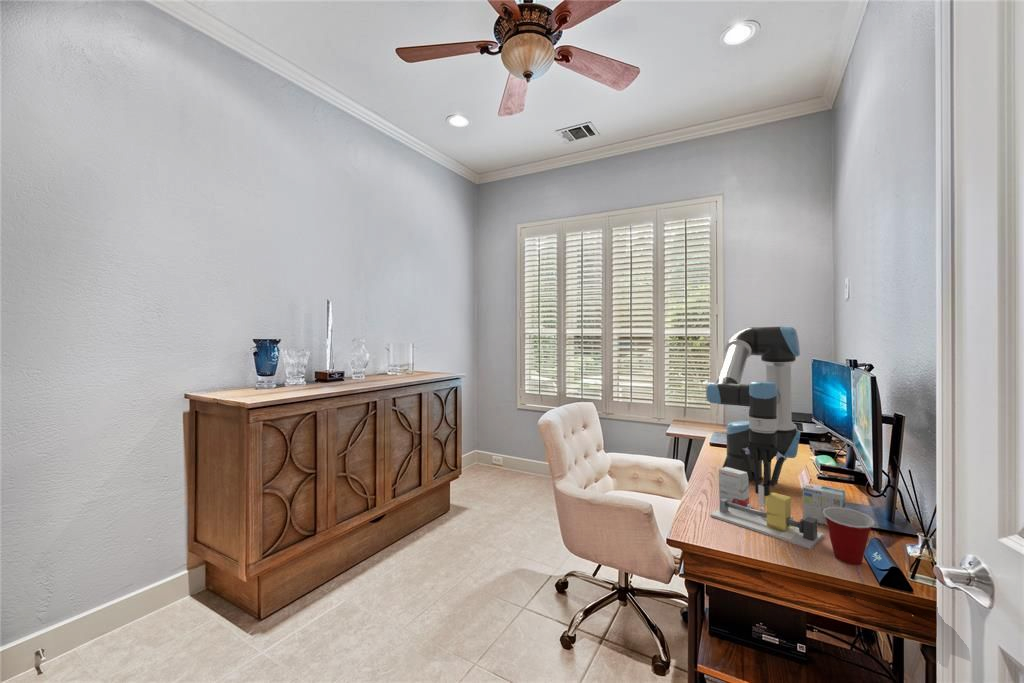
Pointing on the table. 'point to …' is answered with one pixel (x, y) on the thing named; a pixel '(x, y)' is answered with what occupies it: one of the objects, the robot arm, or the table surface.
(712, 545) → the table surface
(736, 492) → the ink box
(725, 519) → the rod slider on plate
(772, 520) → the sleeve
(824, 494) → the light bulb box
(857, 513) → the plastic cup
